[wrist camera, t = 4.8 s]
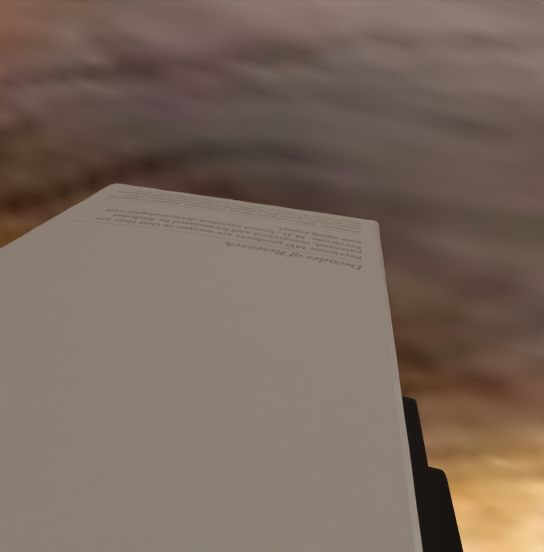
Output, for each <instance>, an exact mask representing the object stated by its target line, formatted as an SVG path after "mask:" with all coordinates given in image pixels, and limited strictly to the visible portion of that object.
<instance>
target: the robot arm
mask: <svg viewBox="0 0 544 552" xmlns="http://www.w3.org/2000/svg"><path fill="white" fill-rule="evenodd" d="M402 402H403V410H404V418H405V424H406V431H407V438H408V444H409V452H410V460H411V467H412V475H413V483H414V491H415V498H416V506H417V513H418V520H419V528H420V535H421V542H422V549H423V552H463V548H462V544H461V540H460V535H459V531H458V526H457V522H456V517H455V513H454V508H453V504H452V499H451V495H450V490H449V486H448V481H447V478H446V475H445V473H444V472H443V470H440V469H436V468H432V467H428V462H427V457H426V451H425V446H424V441H423V435H422V430H421V424H420V419H419V414H418V408H417V403H416V400H415V399H412V398H408V397H403V396H402Z"/></svg>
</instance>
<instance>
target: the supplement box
mask: <svg viewBox="0 0 544 552" xmlns="http://www.w3.org/2000/svg"><path fill="white" fill-rule="evenodd" d="M0 552H423V549H422V542H421V535H420V528H419V520H418V513H417V506H416V498H415V491H414V483H413V475H412V467H411V460H410V452H409V444H408V438H407V431H406V424H405V418H404V410H403V402H402V395H401V387H400V379H399V372H398V364H397V357H396V350H395V343H394V336H393V328H392V321H391V313H390V306H389V299H388V292H387V285H386V276H385V269H384V260H383V253H382V247H381V240H380V232H379V223H378V222H377V221H373V220H366V219H361V218H354V217H346V216H340V215H334V214H328V213H320V212H314V211H305V210H299V209H291V208H285V207H280V206H274V205H266V204H258V203H251V202H244V201H238V200H232V199H224V198H217V197H210V196H202V195H196V194H190V193H183V192H175V191H166V190H160V189H155V188H148V187H139V186H132V185H125V184H117V183H116V184H111V185H109V186H107V187H105V188H103V189H102V190H100V191H99V192H97V193H95V194H94V195H92V196H90V197H89V198H87V199H85V200H84V201H82V202H80V203H78V204H76V205H74V206H72V207H70V208H69V209H67V210H65V211H64V212H62V213H61V214H59V215H57V216H55V217H53V218H52V219H50V220H48V221H47V222H45V223H43V224H41V225H40V226H38V227H36V228H34V229H33V230H31V231H29V232H28V233H26V234H24V235H23V236H21V237H19V238H18V239H16V240H14V241H12V242H11V243H9V244H7V245H5V246H4V247H2V248H0Z"/></svg>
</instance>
